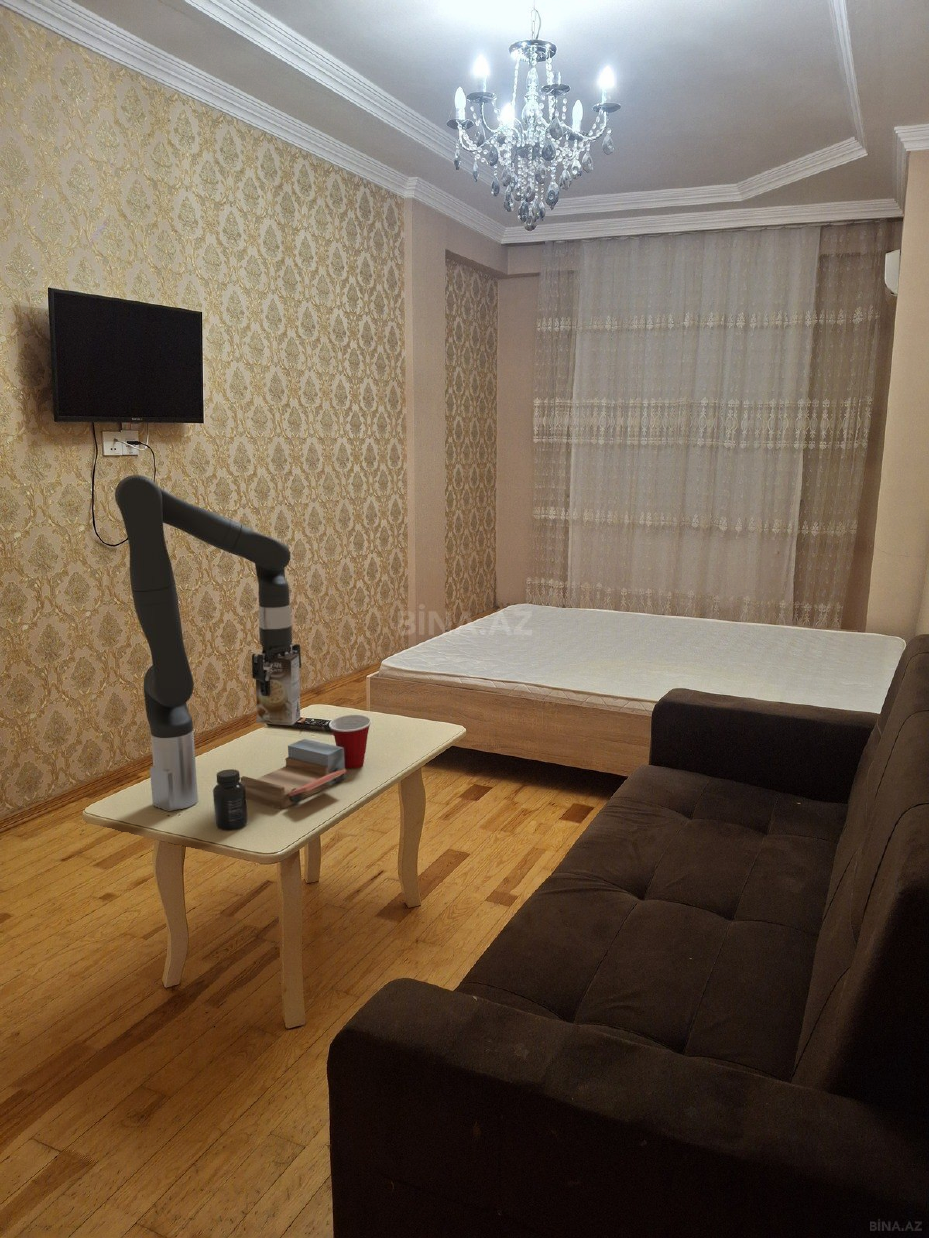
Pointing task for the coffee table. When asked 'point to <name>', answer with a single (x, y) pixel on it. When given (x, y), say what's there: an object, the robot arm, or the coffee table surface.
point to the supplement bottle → (230, 801)
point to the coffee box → (280, 692)
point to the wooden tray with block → (297, 774)
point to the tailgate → (317, 782)
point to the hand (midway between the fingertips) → (278, 691)
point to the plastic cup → (351, 738)
